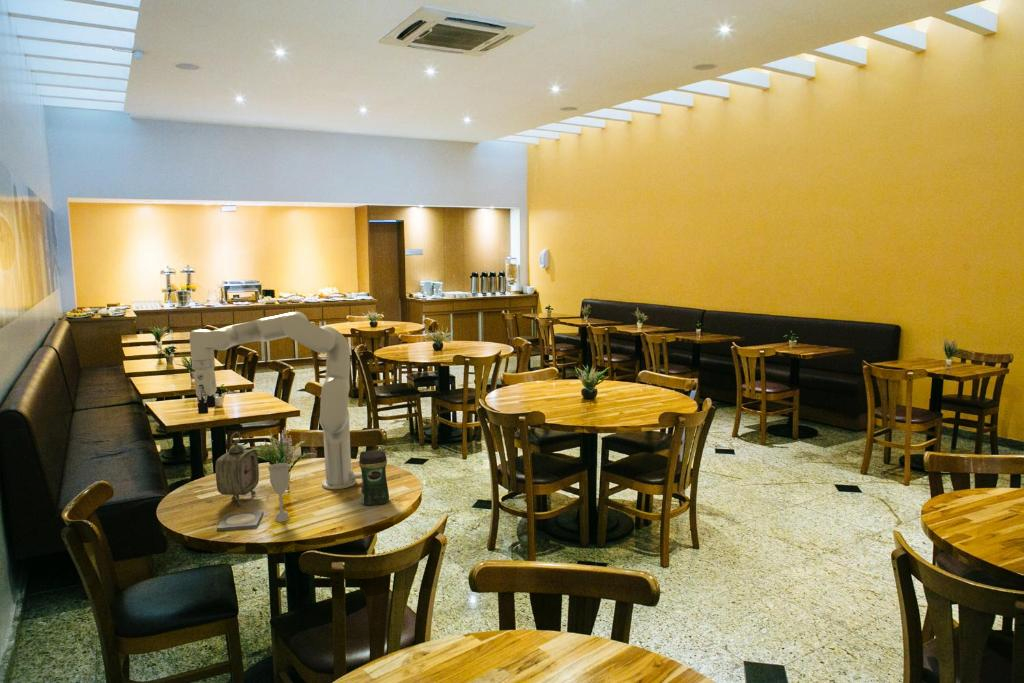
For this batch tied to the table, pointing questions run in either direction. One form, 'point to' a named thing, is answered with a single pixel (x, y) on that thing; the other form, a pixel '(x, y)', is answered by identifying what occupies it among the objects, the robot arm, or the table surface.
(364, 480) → the coffee jar
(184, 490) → the table surface
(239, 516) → the plate
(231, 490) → the tabletop clock
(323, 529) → the table surface
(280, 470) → the chalice
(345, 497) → the table surface
